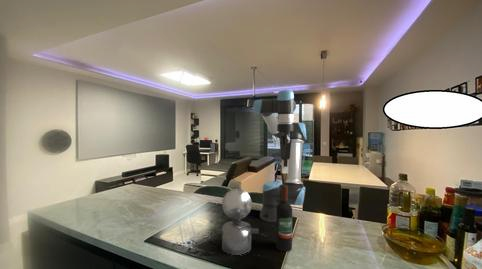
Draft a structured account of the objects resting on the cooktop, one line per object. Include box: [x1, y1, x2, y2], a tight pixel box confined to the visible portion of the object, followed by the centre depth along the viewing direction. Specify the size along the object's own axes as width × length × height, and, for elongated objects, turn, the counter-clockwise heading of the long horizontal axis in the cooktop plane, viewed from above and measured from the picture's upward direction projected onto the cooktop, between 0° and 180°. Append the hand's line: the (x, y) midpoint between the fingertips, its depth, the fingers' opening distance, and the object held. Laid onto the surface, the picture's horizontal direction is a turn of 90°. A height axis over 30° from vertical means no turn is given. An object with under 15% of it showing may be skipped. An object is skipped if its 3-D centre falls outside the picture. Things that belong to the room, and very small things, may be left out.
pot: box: [214, 220, 260, 256], centre depth 101 cm, size 14×21×10 cm, turn 91°
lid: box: [221, 188, 253, 221], centre depth 112 cm, size 16×16×2 cm
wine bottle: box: [275, 184, 293, 253], centre depth 102 cm, size 8×8×30 cm
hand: (284, 173), depth 100 cm, fingers closed
